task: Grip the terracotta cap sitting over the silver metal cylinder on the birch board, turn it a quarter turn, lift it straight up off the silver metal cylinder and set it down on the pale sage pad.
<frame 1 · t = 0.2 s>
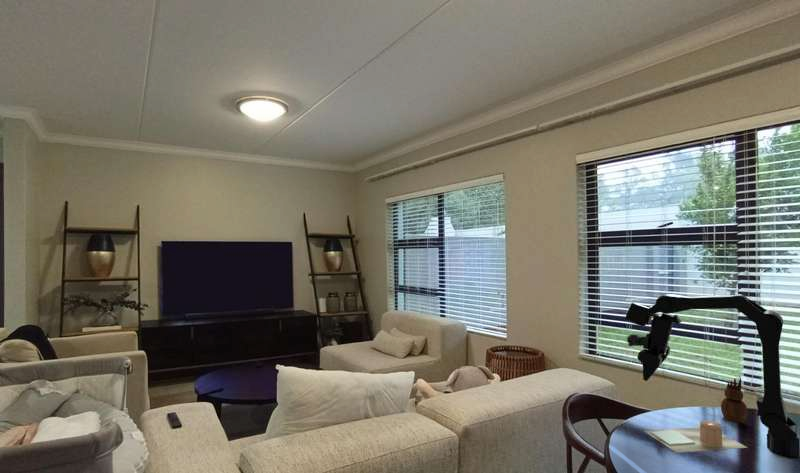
hand: (648, 376, 145), 15 cm above the table, tool pointing down, fingers open, 9 cm apart
pad: (672, 438, 132), resting on board
wooden figurine: (734, 422, 145), on the table
cap: (711, 432, 130), on the board, point 4 cm above the table
silver metal cylinder: (711, 435, 130), on the board, point 3 cm above the table
board: (693, 442, 131), on the table
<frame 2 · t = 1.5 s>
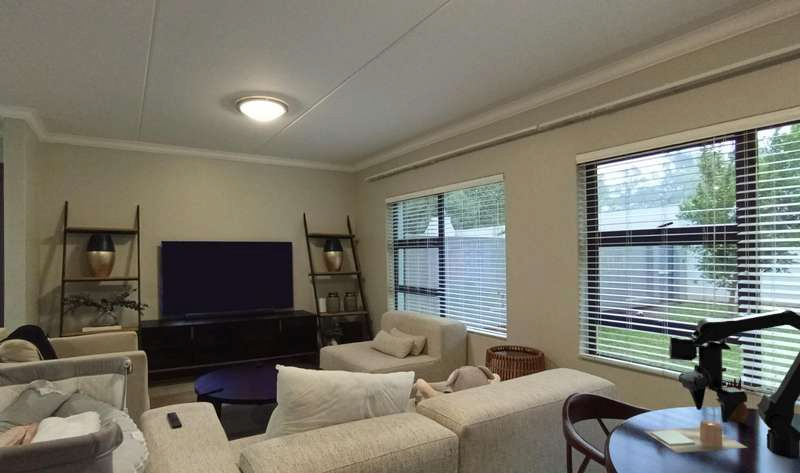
hand: (711, 415, 130), 8 cm above the table, tool pointing down, fingers open, 9 cm apart
nothing on the table moved.
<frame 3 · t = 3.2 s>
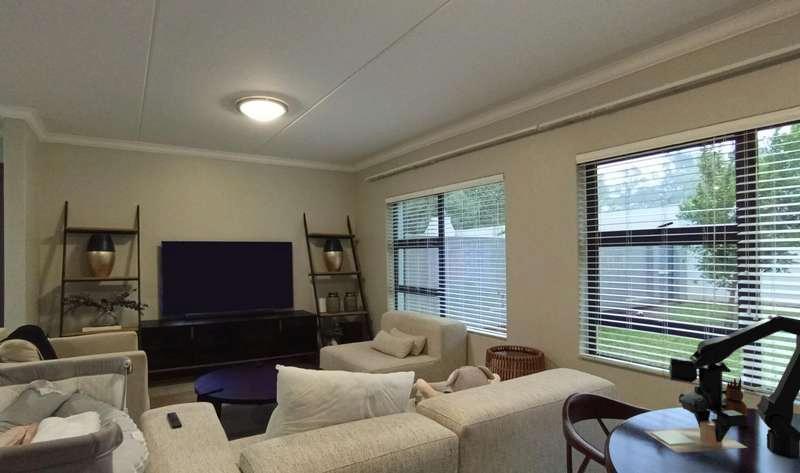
hand: (711, 437, 130), 2 cm above the table, tool pointing down, fingers closed on cap, 5 cm apart
cap: (711, 432, 130), on the board, point 4 cm above the table, touching gripper
everything else where it was.
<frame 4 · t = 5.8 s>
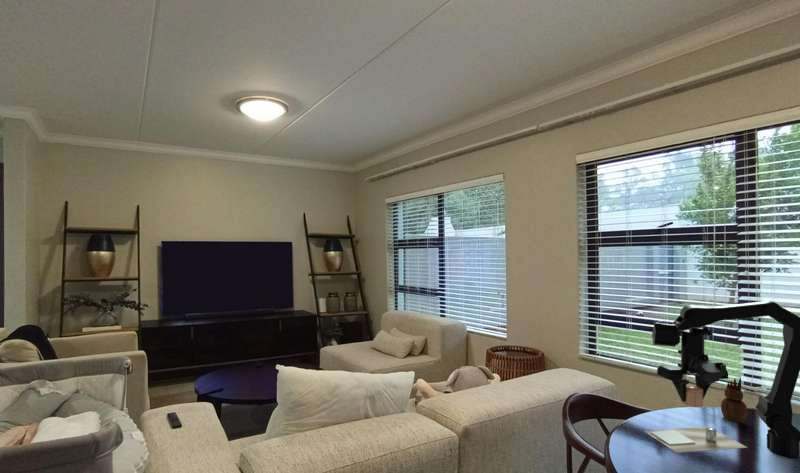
hand: (691, 400, 131), 12 cm above the table, tool pointing down, fingers closed on cap, 5 cm apart
cap: (692, 395, 131), point 14 cm above the table, touching gripper
everything else where it was.
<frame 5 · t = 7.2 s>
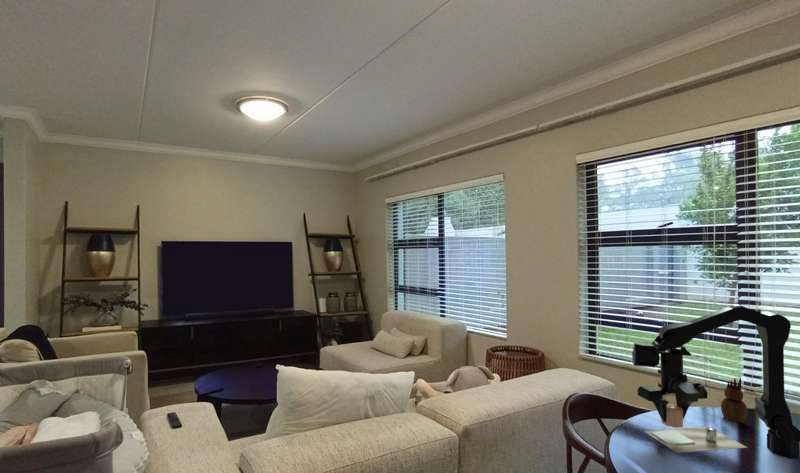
hand: (672, 420, 132), 6 cm above the table, tool pointing down, fingers closed on cap, 5 cm apart
cap: (672, 415, 132), point 8 cm above the table, touching gripper
everything else where it was.
when the fingers open (4 cm above the table, at t = 8.5 s): cap drops 1 cm, resting on pad.
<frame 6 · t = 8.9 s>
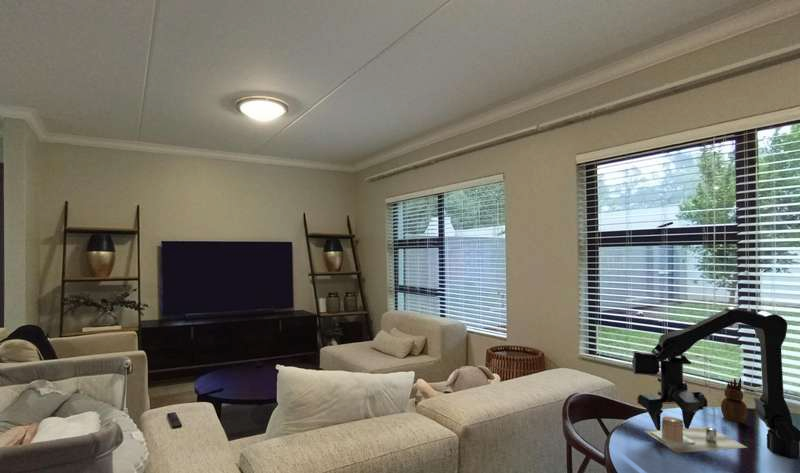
hand: (672, 429, 132), 4 cm above the table, tool pointing down, fingers open, 9 cm apart
cap: (672, 428, 132), on the pad, point 4 cm above the table
everything else where it was.
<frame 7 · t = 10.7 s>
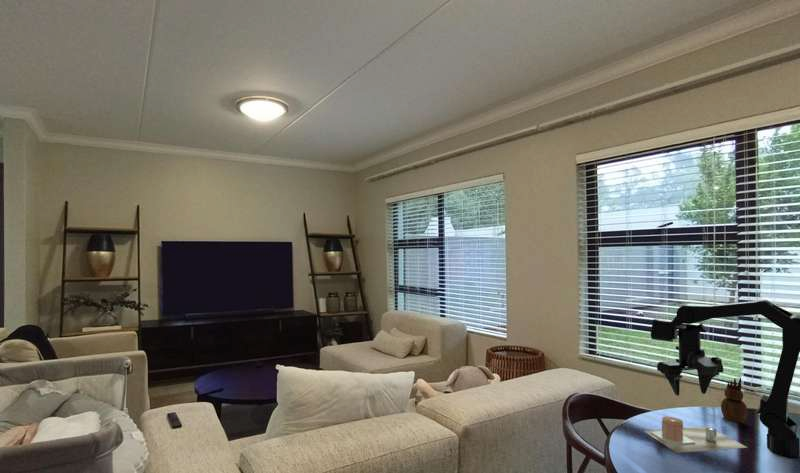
hand: (690, 394, 138), 12 cm above the table, tool pointing down, fingers open, 9 cm apart
nothing on the table moved.
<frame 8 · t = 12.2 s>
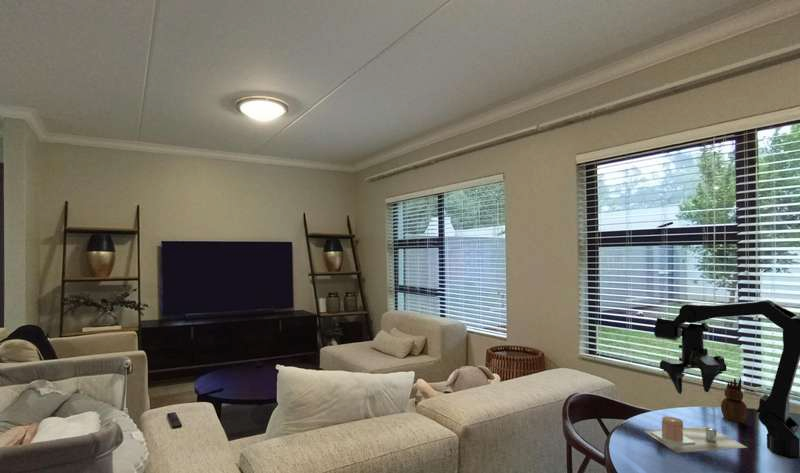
hand: (693, 392, 139), 12 cm above the table, tool pointing down, fingers open, 9 cm apart
nothing on the table moved.
at the end: cap 0.1 cm off-centre on the pad, point 3.0 cm above the pad's base; cap tilted 0°; the gripper is holding nothing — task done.
